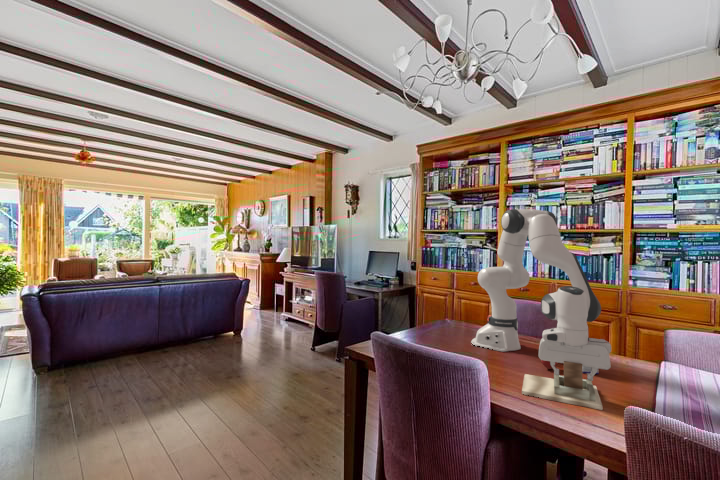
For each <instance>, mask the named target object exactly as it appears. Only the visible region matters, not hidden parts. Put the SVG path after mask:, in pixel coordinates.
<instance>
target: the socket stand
mask: <svg viewBox="0 0 720 480" xmlns="http://www.w3.org/2000/svg"><path fill="white" fill-rule="evenodd" d="M523 394H524V396H528V395H529V397H533V396H534V397H533V398H538V397H539V398H540V399H544V400H549V401H554V402H560V403H563V404H569V405H574V406H580V407H585V408H590V409H595V410H600V411H603V410H604V409H603V406H604V405H603V403H602V400H601V397H600V395H599V390H598V388H597V386H596V385H593V381H589V380H588V379H584V378H583V389H577V388H571V387H566V386H564V375H560V374H559V375H554V374H553V378H551V377H545V376H540V375H534V374H533V375H532V374H527V373H524V376H523V381H522V388H521V395H523Z"/></svg>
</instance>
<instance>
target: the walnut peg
mask: <svg viewBox="0 0 720 480" xmlns="http://www.w3.org/2000/svg"><path fill="white" fill-rule="evenodd" d="M563 376H564V386H566V387H571V388H577V389H583V379H584V378H583V373H582V364H580V363H573V362H566V361H564V363H563Z"/></svg>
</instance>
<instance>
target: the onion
mask: <svg viewBox="0 0 720 480" xmlns="http://www.w3.org/2000/svg"><path fill="white" fill-rule="evenodd" d="M540 361H541V362H540V363H542V366H544V367H545V368H546V369H548V370H552V369H553V368H552V366H551V365H550V361H544V360H541V359H540ZM557 365H558V362H555V365H554V366H555V367H556V366H557Z"/></svg>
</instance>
